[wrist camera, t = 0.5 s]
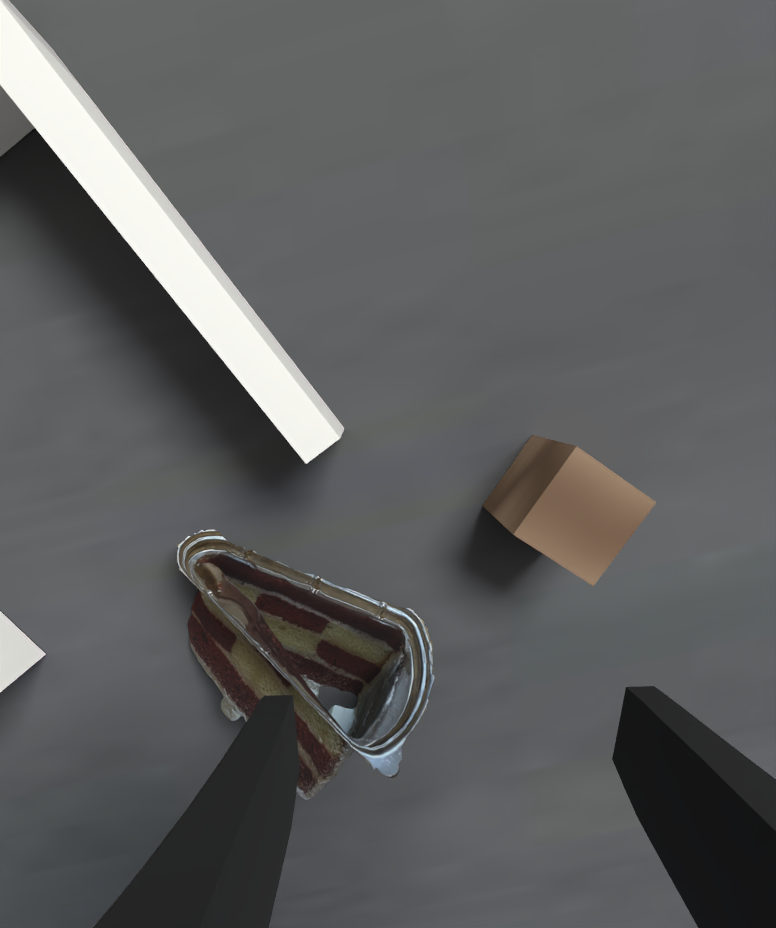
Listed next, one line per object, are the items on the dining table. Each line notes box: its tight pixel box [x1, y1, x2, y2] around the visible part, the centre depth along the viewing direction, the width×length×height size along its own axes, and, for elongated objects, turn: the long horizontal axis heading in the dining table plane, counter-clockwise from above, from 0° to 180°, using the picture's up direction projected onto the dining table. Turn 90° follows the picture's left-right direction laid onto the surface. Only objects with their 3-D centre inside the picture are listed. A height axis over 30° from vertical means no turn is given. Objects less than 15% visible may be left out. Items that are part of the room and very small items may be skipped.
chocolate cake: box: [177, 530, 435, 800], centre depth 19 cm, size 10×7×12 cm
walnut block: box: [483, 435, 656, 586], centre depth 17 cm, size 4×4×4 cm
